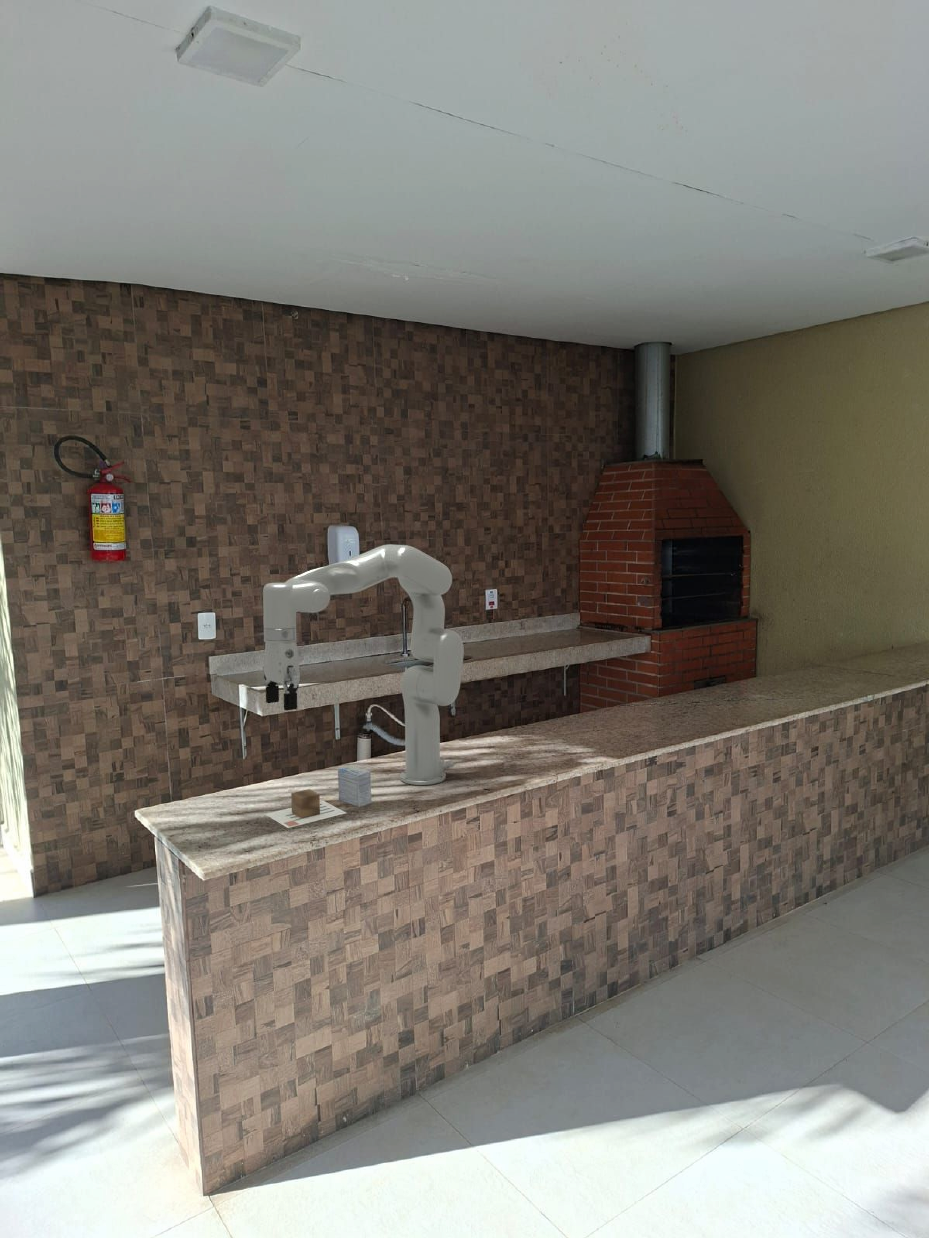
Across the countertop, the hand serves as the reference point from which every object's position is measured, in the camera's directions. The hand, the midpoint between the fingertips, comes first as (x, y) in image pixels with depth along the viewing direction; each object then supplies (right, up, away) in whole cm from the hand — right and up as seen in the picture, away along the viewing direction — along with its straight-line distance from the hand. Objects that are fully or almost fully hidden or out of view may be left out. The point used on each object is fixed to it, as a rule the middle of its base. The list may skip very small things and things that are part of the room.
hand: (281, 705), depth 209 cm
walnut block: (+5, -27, +5) cm, 28 cm away
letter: (+5, -27, +5) cm, 28 cm away
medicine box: (+16, -26, +14) cm, 34 cm away
